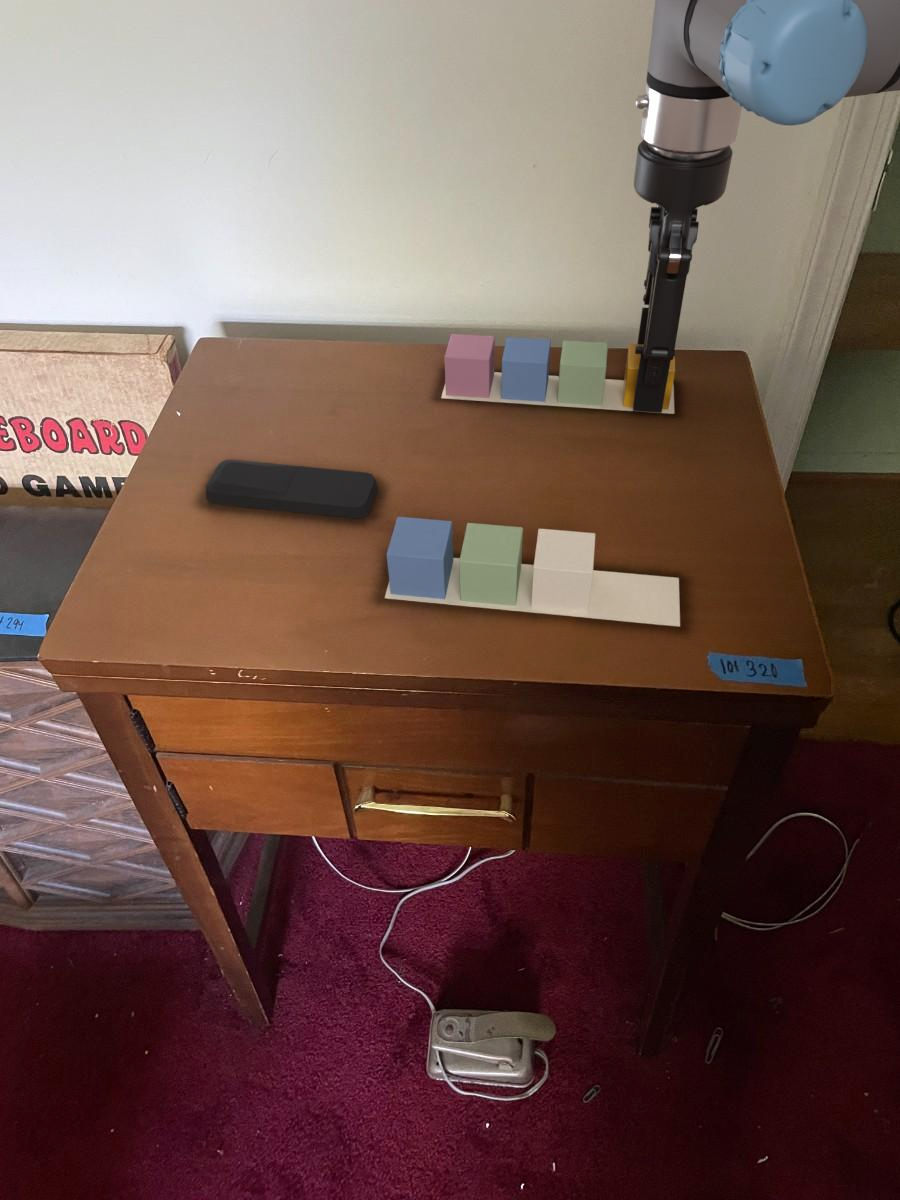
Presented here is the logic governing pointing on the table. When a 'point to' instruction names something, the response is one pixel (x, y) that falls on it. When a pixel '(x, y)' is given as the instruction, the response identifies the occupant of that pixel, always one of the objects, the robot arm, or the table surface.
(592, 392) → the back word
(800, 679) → the table surface
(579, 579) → the white strip with cubes
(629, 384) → the block
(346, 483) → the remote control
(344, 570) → the table surface
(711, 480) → the table surface
